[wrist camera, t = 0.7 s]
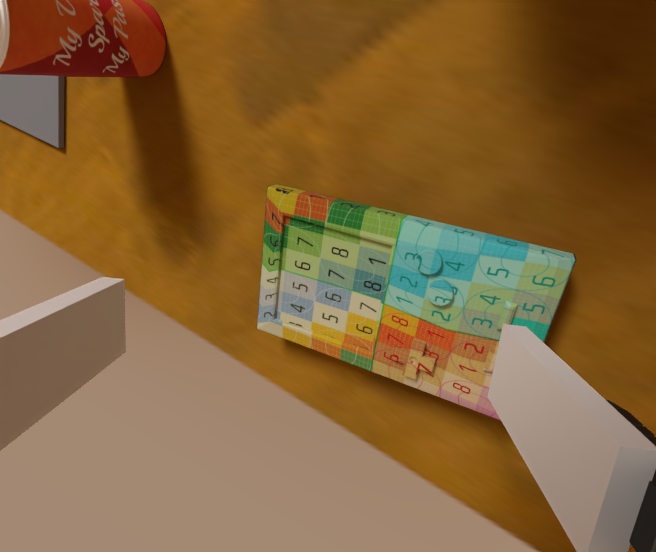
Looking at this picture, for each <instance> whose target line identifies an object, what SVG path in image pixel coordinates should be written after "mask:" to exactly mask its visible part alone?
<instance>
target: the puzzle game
mask: <svg viewBox="0 0 656 552" xmlns="http://www.w3.org/2000/svg"><path fill="white" fill-rule="evenodd" d="M575 262H576V257H575V254H573V253H568V252H564V251H560V250H556V249H551V248H547V247H543V246H539V245H534V244H530V243H526V242H521V241H517V240H513V239H509V238H504V237H500V236H496V235H492V234H487V233H483V232H479V231H474V230H470V229H466V228H462V227H457V226H453V225H449V224H445V223H440V222H436V221H432V220H427V219H423V218H419V217H415V216H410V215H406V214H402V213H397V212H393V211H389V210H385V209H380V208H376V207H372V206H368V205H363V204H359V203H355V202H350V201H346V200H342V199H338V198H333V197H329V196H325V195H321V194H316V193H312V192H308V191H303V190H299V189H295V188H291V187H286V186H282V185H271V186H267V198H266V212H265V226H264V239H263V253H262V267H261V280H260V294H259V308H258V322H257V329H260V330H262V331H265V332H268V333H270V334H273V335H276V336H279V337H281V338H284V339H287V340H289V341H292V342H295V343H298V344H300V345H303V346H305V347H308V348H311V349H313V350H316V351H319V352H321V353H324V354H327V355H329V356H332V357H335V358H337V359H340V360H342V361H345V362H348V363H350V364H353V365H356V366H358V367H361V368H364V369H366V370H369V371H372V372H374V373H377V374H379V375H382V376H385V377H387V378H390V379H393V380H395V381H398V382H401V383H403V384H406V385H409V386H411V387H414V388H417V389H419V390H422V391H424V392H427V393H430V394H432V395H435V396H438V397H440V398H443V399H446V400H448V401H451V402H454V403H456V404H459V405H461V406H464V407H467V408H469V409H472V410H475V411H477V412H480V413H483V414H485V415H488V416H491V417H493V418H496V419H498V420H501V419H500V418H499V416H498V414H497V413H496V411H495V409H494V407H493V406H492V404H491V402H490V400H489V399H488V392H489V387H490V383H491V378H492V373H493V369H494V364H495V359H496V355H497V350H498V346H499V341H500V336H501V332H502V327H503V324H509V325H518V326H526V327H527V328H528V329H529V330H530V331H531V332H533V333H534V334H535V335H536V336H537V337H538V338H539V339H540V340H541V341H542V342H543V343H544V342H545V339H546V337H547V334H548V331H549V329H550V326H551V324H552V321H553V319H554V316H555V313H556V311H557V308H558V306H559V303H560V301H561V298H562V296H563V293H564V290H565V288H566V285H567V283H568V280H569V278H570V275H571V272H572V270H573V267H574V265H575Z"/></svg>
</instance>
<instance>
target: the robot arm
mask: <svg viewBox="0 0 656 552" xmlns="http://www.w3.org/2000/svg"><path fill="white" fill-rule="evenodd" d="M125 348H126V346H125V282H124V279H117V278H109V277H102V278H99V279H97V280H95V281H92V282H90V283H87V284H85V285H83V286H80V287H78V288H76V289H73V290H71V291H68V292H66V293H64V294H61V295H59V296H57V297H54V298H52V299H50V300H47V301H45V302H42V303H40V304H38V305H35V306H33V307H31V308H28V309H26V310H24V311H21V312H19V313H17V314H14V315H12V316H9V317H7V318H5V319H2V320H0V451H1V450H2V449H3V448H5V447H6V446H7V445H8V444H10V443H11V442H12V441H13V440H15V439H16V438H17V437H18V436H20V435H21V434H22V433H23V432H25V431H26V430H27V429H29V428H30V427H31V426H32V425H34V424H35V423H36V422H37V421H39V420H40V419H41V418H42V417H44V416H45V415H46V414H47V413H49V412H50V411H51V410H53V409H54V408H55V407H56V406H58V405H59V404H60V403H61V402H63V401H64V400H65V399H66V398H68V397H69V396H70V395H72V394H73V393H74V392H75V391H77V390H78V389H79V388H81V387H82V386H83V385H84V384H86V383H87V382H88V381H89V380H91V379H92V378H93V377H94V376H96V375H97V374H98V373H100V372H101V371H102V370H103V369H104V368H106V367H107V366H108V365H110V364H111V363H112V362H114V361H115V360H116V359H117V358H119V357H120V356H121V355H122V354H124V353H125V352H126V349H125ZM488 399H489V400H490V402H491V404H492V406H493V407H494V409H495V411H496V413H497V414H498V416H499V418H500V419H501V421H502V423H503V425H504V426H505V428H506V430H507V432H508V433H509V435H510V437H511V439H512V440H513V442H514V444H515V446H516V447H517V449H518V451H519V452H520V454H521V456H522V458H523V459H524V461H525V463H526V465H527V466H528V468H529V470H530V472H531V473H532V475H533V477H534V478H535V480H536V482H537V484H538V485H539V487H540V489H541V491H542V492H543V494H544V496H545V498H546V499H547V501H548V503H549V505H550V506H551V508H552V510H553V511H554V513H555V515H556V517H557V518H558V520H559V522H560V524H561V525H562V527H563V529H564V531H565V532H566V534H567V536H568V537H569V539H570V541H571V543H572V544H573V546H574V548H575V550H576V551H577V552H628V550H629V547H630V544H631V545H632V546H633V548H634V549H635V550H636V552H656V437H654V434H653V433H652V432H651V431H649V430H648V429H647V428H646V427H643V424H642V423H640V422H639V421H638V420H637V419H636V418H635V417H634V416H633V415H631V414H630V413H629V412H628V411H626V410H624V409H623V408H621V407H619V406H618V405H616V404H614V403H612V402H611V401H609V400H605V399H604V398H603V397H602V396H601V395H600V394H599V393H597V392H596V391H595V390H594V389H593V388H592V387H591V386H590V385H589V384H588V383H587V382H586V381H584V380H583V379H582V378H581V377H580V376H579V375H578V374H577V373H576V372H575V371H574V370H573V369H572V368H570V367H569V366H568V365H567V364H566V363H565V362H564V361H563V360H562V359H561V358H560V357H559V356H557V355H556V354H555V353H554V352H553V351H552V350H551V349H550V348H549V347H548V346H547V345H546V344H544V343H543V342H542V341H541V340H540V339H539V338H538V337H537V336H536V335H535V334H534V333H533V332H531V331H530V330H529V329H528V328H527V327H526V326H518V325H509V324H503V327H502V332H501V336H500V341H499V346H498V350H497V355H496V359H495V364H494V369H493V373H492V378H491V383H490V387H489V392H488Z"/></svg>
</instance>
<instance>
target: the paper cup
mask: <svg viewBox="0 0 656 552" xmlns="http://www.w3.org/2000/svg"><path fill="white" fill-rule="evenodd" d="M165 52H166V35H165V30H164V26H163V23H162V21H161V19H160V17H159V15H158V14H157V12H156V11H155V10H154V8H153V7H152V6H150V5H149V4H148V3H146V2H144V1H142V0H0V74H5V75H46V76H68V77H145V76H150V75H152V74H154V73H155V72H156V71H157V70H158V69H159V68H160V66H161V64H162V62H163V60H164V57H165Z"/></svg>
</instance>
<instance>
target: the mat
mask: <svg viewBox="0 0 656 552" xmlns="http://www.w3.org/2000/svg"><path fill="white" fill-rule="evenodd" d="M64 87H65V76H46V75H5V74H0V120H2V121H4V122H6V123H8V124H10V125H12V126H14V127H16V128H18V129H20V130H22V131H24V132H26V133H29V134H31V135H33V136H35V137H37V138H39V139H41V140H43V141H45V142H47V143H49V144H51V145H53V146H55V147H57V148H64Z"/></svg>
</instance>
